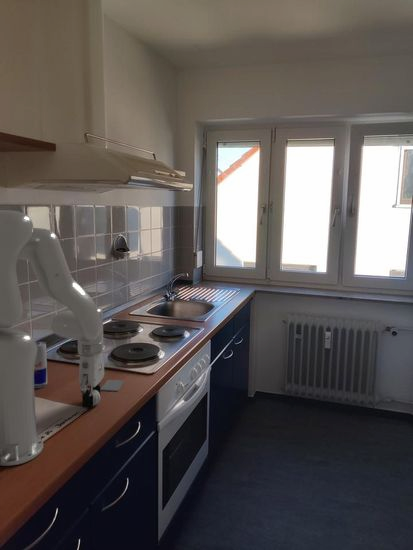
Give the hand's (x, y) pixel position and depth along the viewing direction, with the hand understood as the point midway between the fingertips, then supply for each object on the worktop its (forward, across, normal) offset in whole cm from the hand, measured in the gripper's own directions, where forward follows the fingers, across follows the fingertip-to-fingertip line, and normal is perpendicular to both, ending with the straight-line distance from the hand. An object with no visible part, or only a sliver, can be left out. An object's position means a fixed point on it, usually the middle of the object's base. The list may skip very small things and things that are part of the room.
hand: (91, 401), depth 134 cm
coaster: (+1, +14, -2) cm, 14 cm away
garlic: (+1, 0, 0) cm, 1 cm away
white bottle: (+1, +11, +22) cm, 25 cm away
